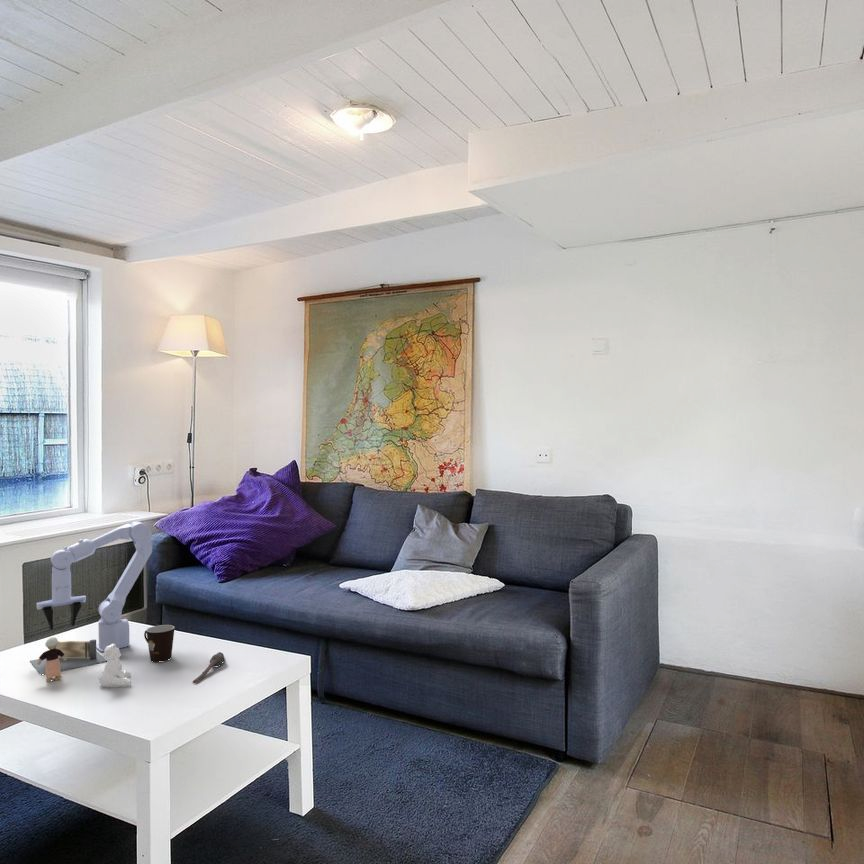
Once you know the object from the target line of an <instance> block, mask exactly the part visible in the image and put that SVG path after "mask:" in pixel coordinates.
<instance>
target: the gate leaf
mask: <svg viewBox="0 0 864 864" xmlns="http://www.w3.org/2000/svg"><path fill="white" fill-rule="evenodd" d="M57 644H58V645H57V646H56V648H55V649H59V650H61V651H62V652H63V653H64V655H65V656H66V657H70V658H89V657H90V640H88V641H87V640H81V641H80V640H78V641H77V640H76V641H75V640H58V643H57ZM58 657H60V656H58Z"/></svg>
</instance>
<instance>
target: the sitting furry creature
mask: <svg viewBox="0 0 864 864" xmlns="http://www.w3.org/2000/svg"><path fill="white" fill-rule="evenodd" d="M120 649H121V648H117V647H116V646H115V644H111V645H110V646H107V647H106V648H105V651H103V653H104V658H105V657H106V658H105V659H106V660H107V662H105V666H104V669H103V670H102V672H101V674H100V676H99V678H98V680H99V684H100V685H101V686H103V687H104V688H109V689H110V688H129V687H131V686H132V679H130V678H131V675H132V674H131V672H130V671H128V670H123V669H122V667H123V666H122V663H121V659H120V657H121V656H122V654H121V651H120Z"/></svg>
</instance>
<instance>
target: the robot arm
mask: <svg viewBox="0 0 864 864" xmlns="http://www.w3.org/2000/svg"><path fill="white" fill-rule="evenodd" d="M152 537H153V533H152V531H151V529H150V527H149V526H148V525H147V524H145V523H144V522H142V521H141V520H133V521H132V522H130V523H126V524H125V523H124V524H123V525H121V526H118V527H116V528H114V529H112V530H110V531H108V532H106V533H103V534H101V535H99V536H98V537H96V538H94V539H88V538H85V539H82V538H80V539H78V540H77V541H78V542H76V543H74V544H72V545H70V546H67V545H65V546H64V547H63V549H58V550H56V551H54V552H53V553H52V555H51V557H50V563H51V564H52V568H51V572H52V573H51V599H48V600H43V601H39V602H36V609H37V610H38V611H39V610H42V612H43V613H44V616H45V618H46V620H47V623H48V629H49V630H51V631H53V630H54V621H53V619H54V617H53V616H54V610H53V608H55V607H61V606H66V605H67V606H68V605H69V607H70V625H71V627H74V626H75V624H76V619H77V617H78V614H79V612H80V610H81V608H82V603H84V604H85V603H87V596H86V595H79V596H72V571H71V565H72V563H77V562H79V561H81V560H84V559H85V558H89V556H92V555H94V554H95V552H96V549H99V548H101V547H103V546H106V545H108V544H110V543H113V542H116V541H118V540H128V541H129V540H130V539H131V540H132V542H133V545H134V548H135V552H134V553H133V555H132V557H131V559H130V560H129V562H128V564H127V565H126V567H125V568H124V571H123V572H122V574H121V576H120V578H119V579H118V581H117V583H116V584H115V586H114V588H113V590H112V591H111V592H110V593H109V594H108V595H107V598H105V599H104V600H103V601H102V602H101V603H99V605H98V610H97V611H98V613H99V616H100V619H99V620H98V621H97V622H98V624H97V625H98V626H97V627H98V644H96V650H98V651H99V652H103V653H104V651H105V648H106V647H107V646H110V645H111V644H115V646H116V647H117V648H119V649H122V648H127V646H128V647H131V644H130V624H129V623H130V622H129V619H127V618H122V612H123V608H124V606H125V603H126V600H127V596H128V594H129V593H130V591H131V590H132V588H133V586H134V585H135V582H136V581H137V579H138V578H139V576H140V574H141V573H142V571H143V568H144V567H145V565H146V563H147V562H148V560H149V559H150V556H151V555H152V552H153V539H152Z"/></svg>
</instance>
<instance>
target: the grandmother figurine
mask: <svg viewBox="0 0 864 864" xmlns="http://www.w3.org/2000/svg"><path fill="white" fill-rule="evenodd" d="M58 641H59V640H58V638H57V637H55V636H54V637H52V636H51V637H49V638H48V639H47V640H46V641H45V645H44V646H45V647H46V648H47V649H48V650H46V651H45V650H44V652H42V654H41V655H39V657H38V659H39V660H38V662H37V664H38V665H40V664H41V662H42V660H44V659H46V658H47V659H46V675H45V677H46V679H45V680H47V681H50V682H52V681H51V680H53V681H54V680H55V681H59V680H58V679H60V680H61V679H62V678H63V675H62V673H61V672H62V671H61V670H60V661H59V658H58V656H60V657H62V659H63V661H66V660H67V658H66V656H65V655H64V653H63V652H62V651H61V650H59V649H55V648H56V646H57V645H58V644H57V643H58ZM47 681H46V682H47Z"/></svg>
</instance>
